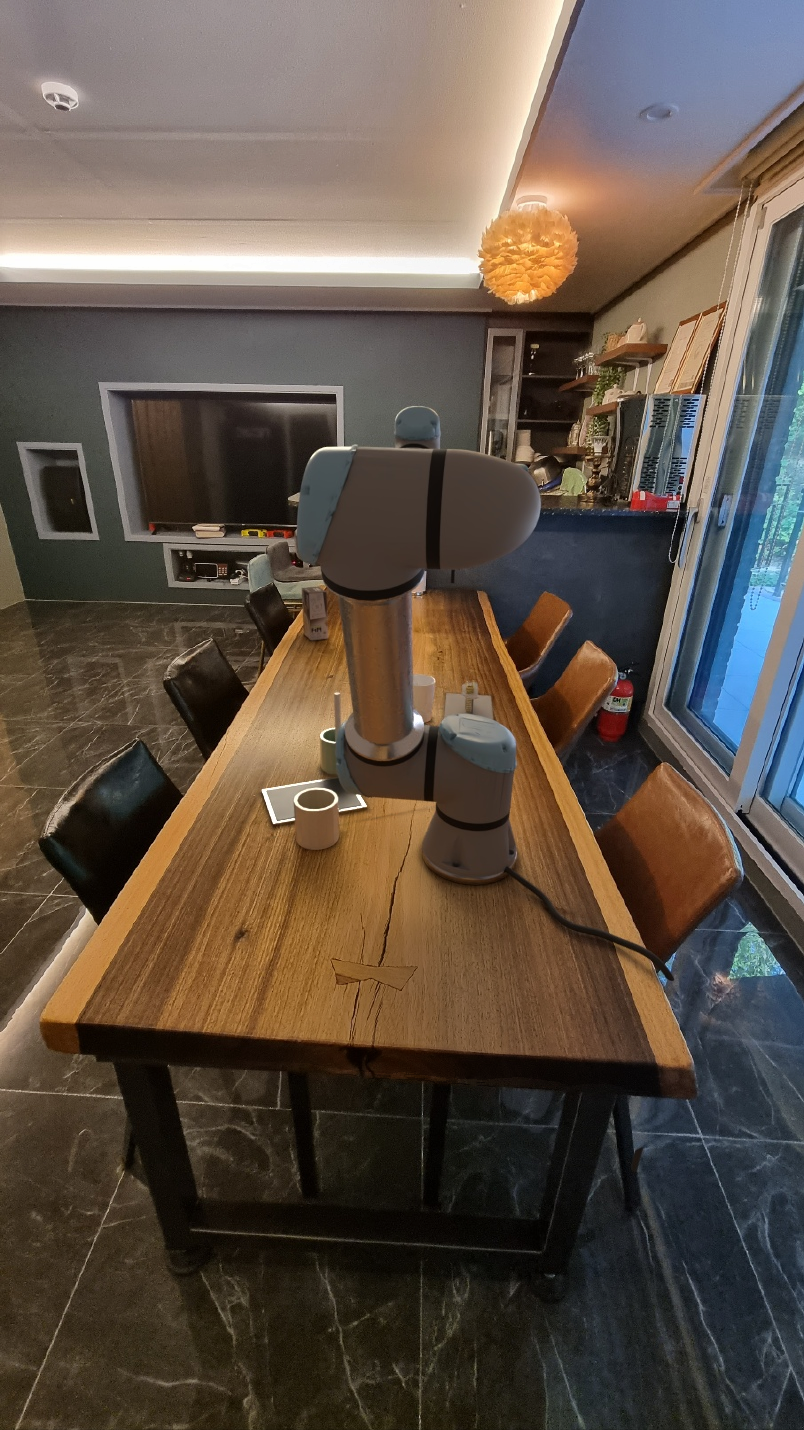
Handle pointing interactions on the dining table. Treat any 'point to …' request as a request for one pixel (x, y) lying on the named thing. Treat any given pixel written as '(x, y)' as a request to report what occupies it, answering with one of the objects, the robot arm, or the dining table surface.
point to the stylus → (337, 713)
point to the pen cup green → (328, 751)
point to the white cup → (423, 695)
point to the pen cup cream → (316, 818)
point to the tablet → (283, 797)
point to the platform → (468, 702)
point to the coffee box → (315, 613)
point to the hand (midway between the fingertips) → (421, 577)
